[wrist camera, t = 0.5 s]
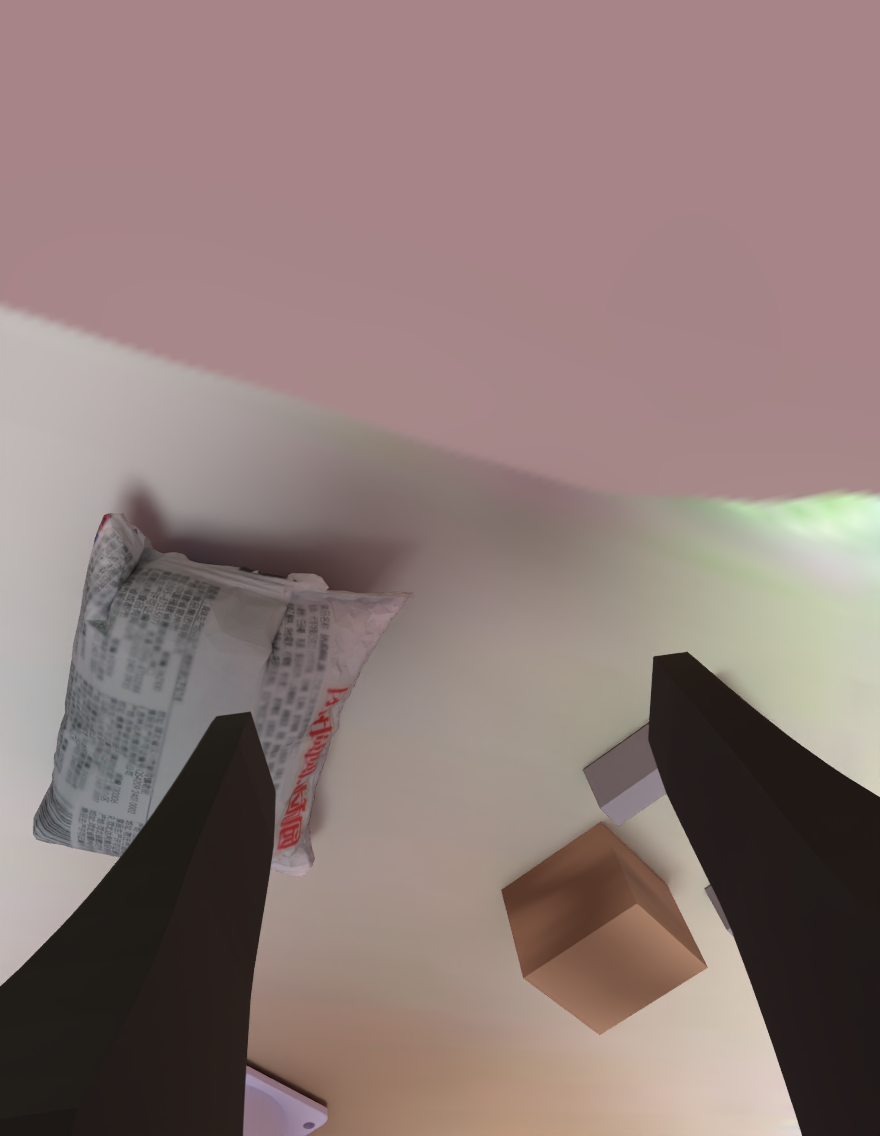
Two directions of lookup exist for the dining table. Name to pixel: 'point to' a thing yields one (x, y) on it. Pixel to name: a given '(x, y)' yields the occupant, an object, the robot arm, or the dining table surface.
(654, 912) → the wooden cube block
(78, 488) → the dining table surface
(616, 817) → the purple-grey c-shaped block
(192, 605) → the packaged food
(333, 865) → the dining table surface
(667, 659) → the robot arm
